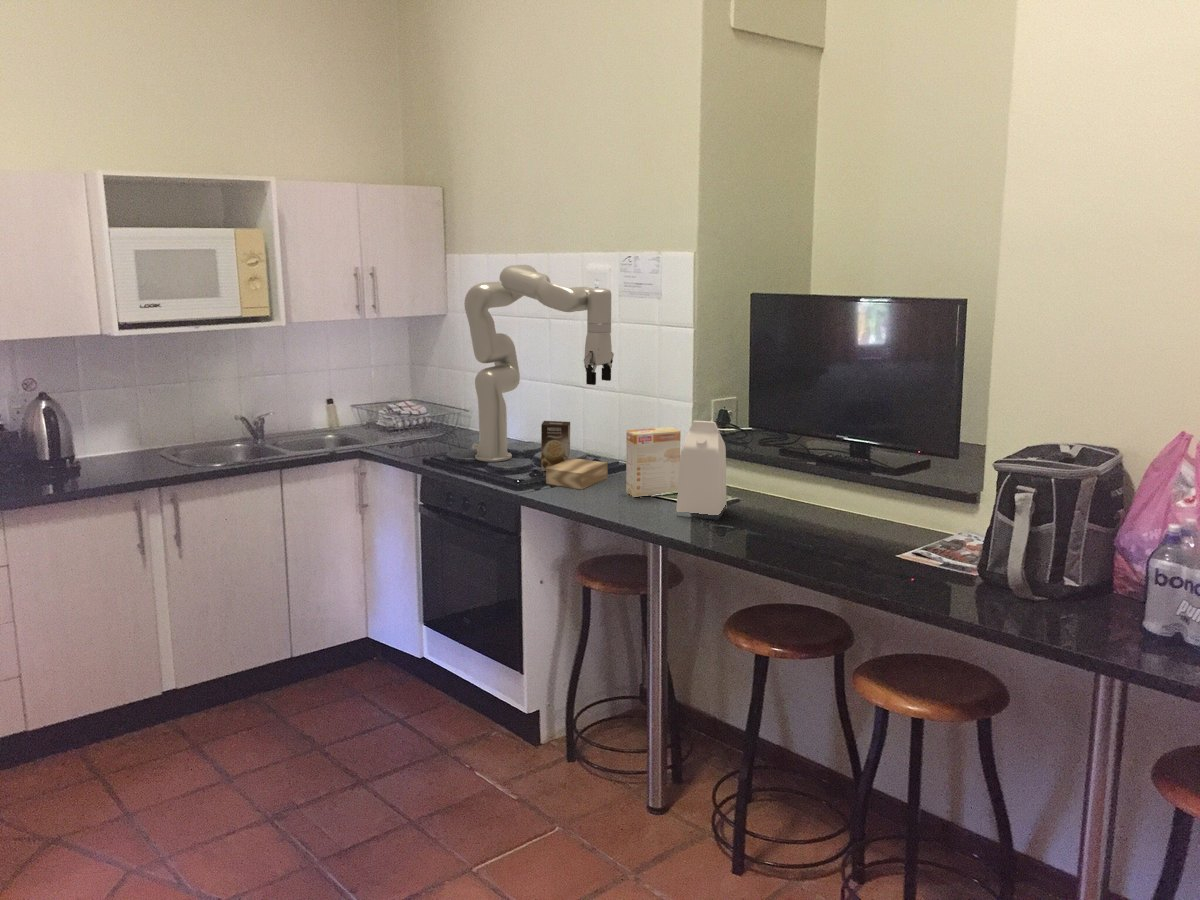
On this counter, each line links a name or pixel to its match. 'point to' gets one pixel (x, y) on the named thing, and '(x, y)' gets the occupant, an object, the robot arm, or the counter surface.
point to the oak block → (576, 473)
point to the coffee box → (554, 443)
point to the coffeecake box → (652, 461)
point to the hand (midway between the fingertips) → (598, 382)
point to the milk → (702, 470)
